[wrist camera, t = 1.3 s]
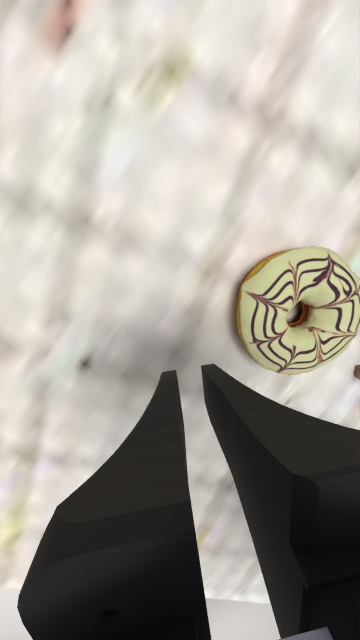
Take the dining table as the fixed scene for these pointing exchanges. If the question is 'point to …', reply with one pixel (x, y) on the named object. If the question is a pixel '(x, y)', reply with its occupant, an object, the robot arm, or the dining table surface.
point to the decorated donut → (316, 319)
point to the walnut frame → (357, 371)
